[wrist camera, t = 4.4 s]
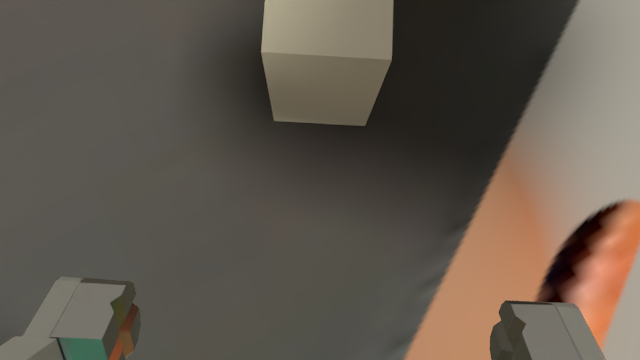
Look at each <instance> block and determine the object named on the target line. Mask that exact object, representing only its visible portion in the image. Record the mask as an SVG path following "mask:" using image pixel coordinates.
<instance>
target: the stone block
mask: <svg viewBox="0 0 640 360" xmlns="http://www.w3.org/2000/svg"><path fill="white" fill-rule="evenodd" d="M392 38H393V0H265V7H264V20H263V34H262V47H261V54H262V59H263V65H264V70H265V75H266V81H267V86H268V91H269V97H270V102H271V108H272V113H273V118H274V121H285V122H303V123H321V124H338V125H356V126H365V125H366V122H367V120H368V118H369V115H370V113H371V110H372V108H373V105H374V103H375V100H376V98H377V95H378V93H379V90H380V88H381V86H382V83H383V81H384V78H385V76H386V73H387V71H388V68H389V66H390V63H391V61H392Z"/></svg>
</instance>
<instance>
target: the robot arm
mask: <svg viewBox="0 0 640 360" xmlns="http://www.w3.org/2000/svg"><path fill="white" fill-rule="evenodd" d="M135 295H136V292H135V288H134V284H133V283H132V282H130V281H117V280H104V279H91V278H73V277H61V278H59V279H58V280H57V281H56V282H55V283H54V284H53V286H52V288H51V289H50V291H49V293H48V294H47V296H46V298H45V299H44V301H43V303H42V304H41V306H40V308H39V309H38V311H37V313H36V314H35V316H34V318H33V319H32V321H31V323H30V324H29V326H28V328H27V329H26V331H25V333H24V334H23V336H22V337H17V336H15V337H13V338H12V339H10V340H9V341H7V342H6V343H4V344H3V345H1V346H0V360H125V357H127V356H128V355H129V354H130V353H132V352H133V351H134V349H135V346H136V343H137V340H138V336H139V330H140V312H139V308H138V307H137V306H136V305H135V304H134V303H133V300H134V297H135ZM499 315H500V317H501V321H500V322H499V323H497V324H496V325H494V327H493V330H492V333H491V336H490V353H491V359H492V360H606V359H605V357H604V355H603V353H602V351H601V349H600V347H599V346H598V344H597V342H596V340H595V338H594V336H593V334H592V332H591V330H590V328H589V327H588V325H587V323H586V321H585V319H584V317H583V315H582V313H581V311H580V309H579V308H578V307H577V306H576V305H575V304H573V303H548V302H529V301H505V302H504V303H503V304H502V305H501V308H500V310H499Z"/></svg>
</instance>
